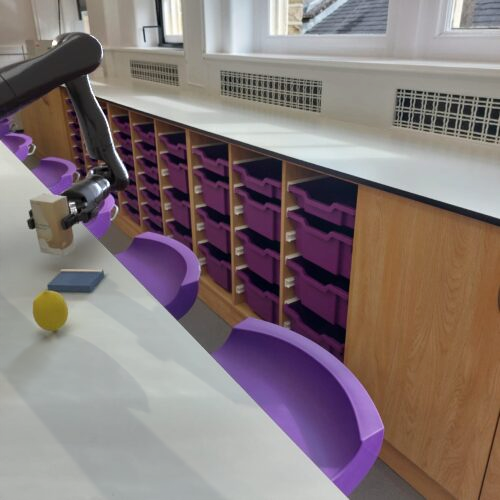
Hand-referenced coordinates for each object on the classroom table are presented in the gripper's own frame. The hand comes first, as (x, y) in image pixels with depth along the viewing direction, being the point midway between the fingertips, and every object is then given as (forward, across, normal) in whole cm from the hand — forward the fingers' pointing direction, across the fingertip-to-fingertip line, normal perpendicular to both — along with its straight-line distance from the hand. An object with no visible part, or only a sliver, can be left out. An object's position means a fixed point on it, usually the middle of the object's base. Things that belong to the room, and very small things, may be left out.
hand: (46, 225), depth 100 cm
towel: (+4, +6, +11) cm, 14 cm away
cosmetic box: (-2, 0, +7) cm, 8 cm away
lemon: (+21, +10, +12) cm, 26 cm away
